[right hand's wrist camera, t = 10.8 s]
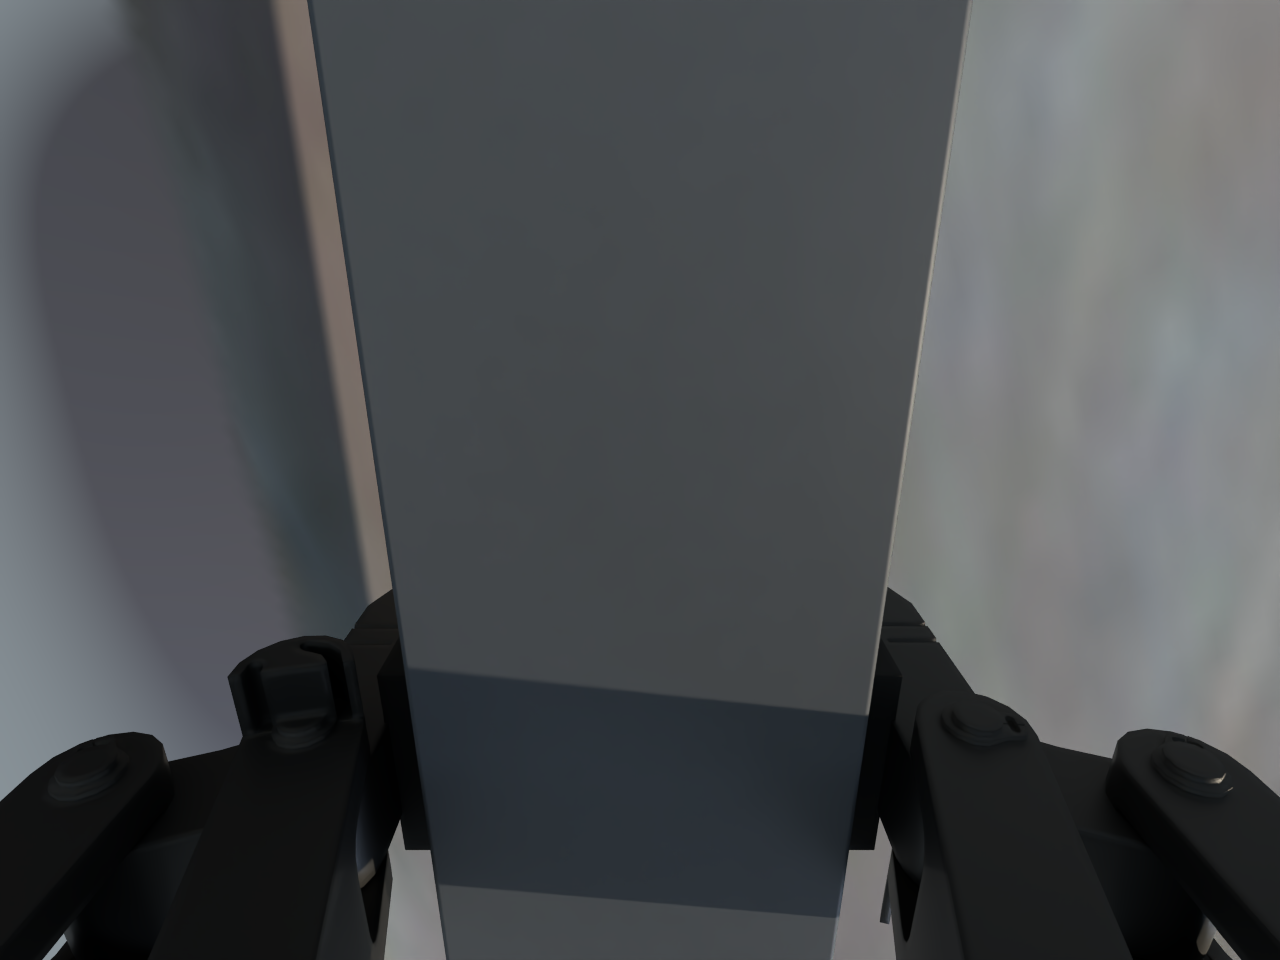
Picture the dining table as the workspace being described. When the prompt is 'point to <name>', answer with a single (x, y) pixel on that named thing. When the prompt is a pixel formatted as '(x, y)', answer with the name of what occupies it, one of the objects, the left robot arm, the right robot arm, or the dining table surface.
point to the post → (639, 437)
